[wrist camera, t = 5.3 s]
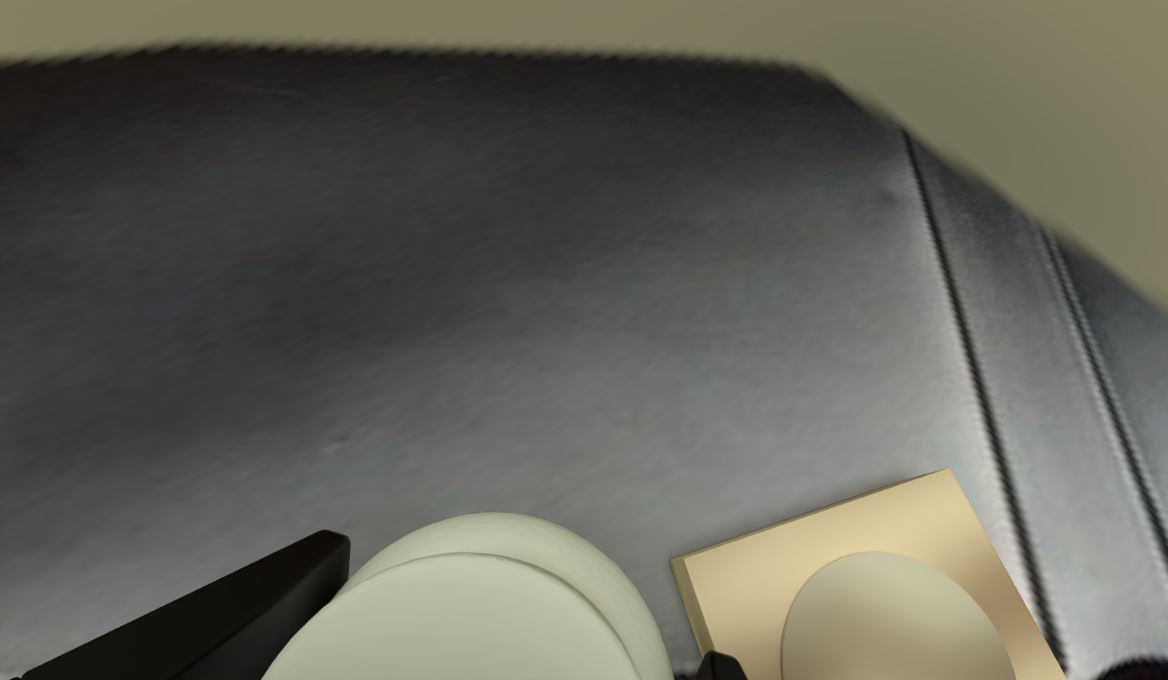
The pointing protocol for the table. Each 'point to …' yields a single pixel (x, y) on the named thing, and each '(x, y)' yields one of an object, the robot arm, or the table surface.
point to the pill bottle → (482, 611)
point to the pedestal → (867, 594)
